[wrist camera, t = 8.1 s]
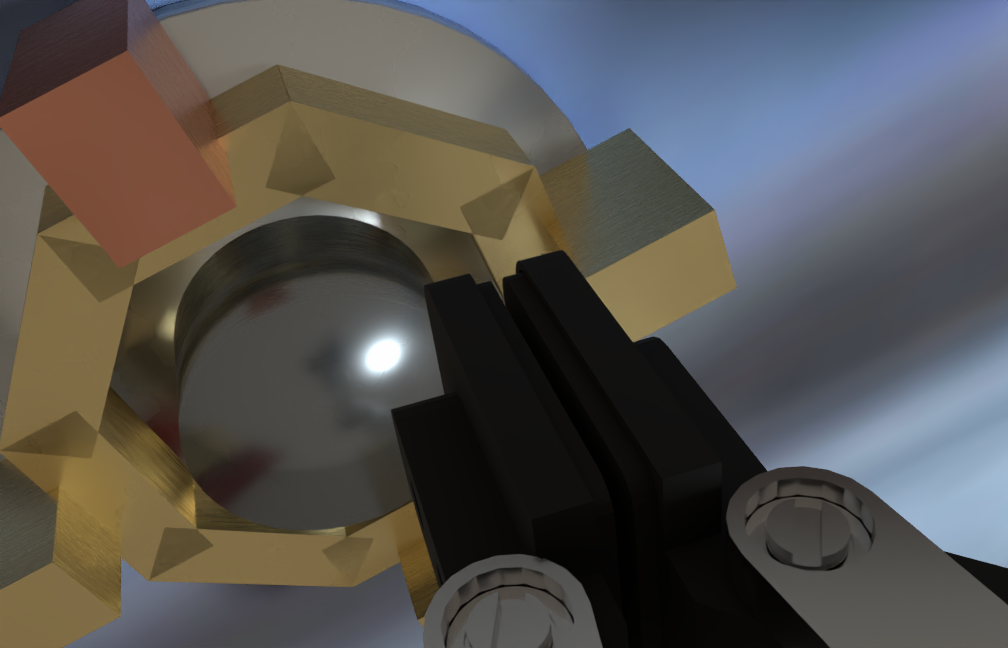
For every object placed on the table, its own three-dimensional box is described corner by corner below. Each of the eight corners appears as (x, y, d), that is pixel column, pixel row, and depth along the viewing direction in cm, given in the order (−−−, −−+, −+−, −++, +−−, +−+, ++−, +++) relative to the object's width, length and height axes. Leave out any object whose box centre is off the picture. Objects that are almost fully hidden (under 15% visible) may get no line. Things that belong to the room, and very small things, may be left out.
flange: (577, 477, 31) (635, 584, 27) (43, 589, 26) (29, 733, 23) (632, -60, 21) (732, -3, 18) (-190, -22, 17) (-274, 65, 13)
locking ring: (681, 143, 23) (772, 225, 20) (472, 560, 29) (514, 674, 26) (33, -55, 16) (9, 18, 13) (-58, 536, 23) (-89, 684, 19)
